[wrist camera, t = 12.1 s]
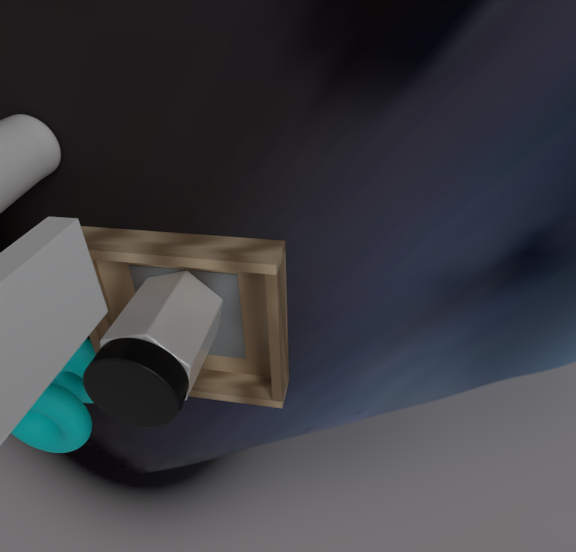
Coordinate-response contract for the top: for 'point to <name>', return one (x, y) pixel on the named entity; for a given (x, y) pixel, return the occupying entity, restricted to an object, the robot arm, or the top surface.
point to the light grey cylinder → (24, 156)
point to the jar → (154, 350)
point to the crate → (225, 283)
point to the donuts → (60, 409)
